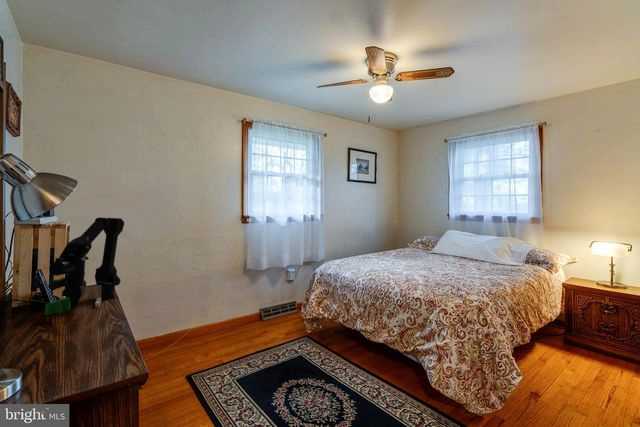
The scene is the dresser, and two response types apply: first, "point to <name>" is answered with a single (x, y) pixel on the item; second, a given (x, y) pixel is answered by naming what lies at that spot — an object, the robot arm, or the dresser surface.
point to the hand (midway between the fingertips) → (73, 308)
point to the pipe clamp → (57, 306)
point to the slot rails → (96, 302)
